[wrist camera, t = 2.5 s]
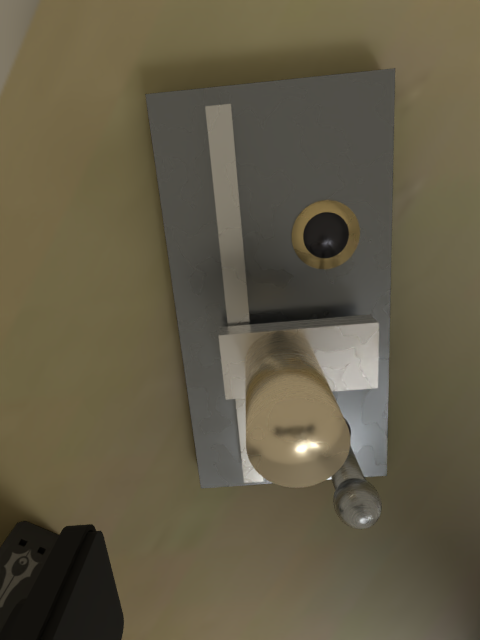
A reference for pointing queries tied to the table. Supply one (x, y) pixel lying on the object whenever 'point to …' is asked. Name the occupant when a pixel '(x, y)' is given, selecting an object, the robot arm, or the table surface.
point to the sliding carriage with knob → (298, 391)
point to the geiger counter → (22, 563)
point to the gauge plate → (279, 245)
